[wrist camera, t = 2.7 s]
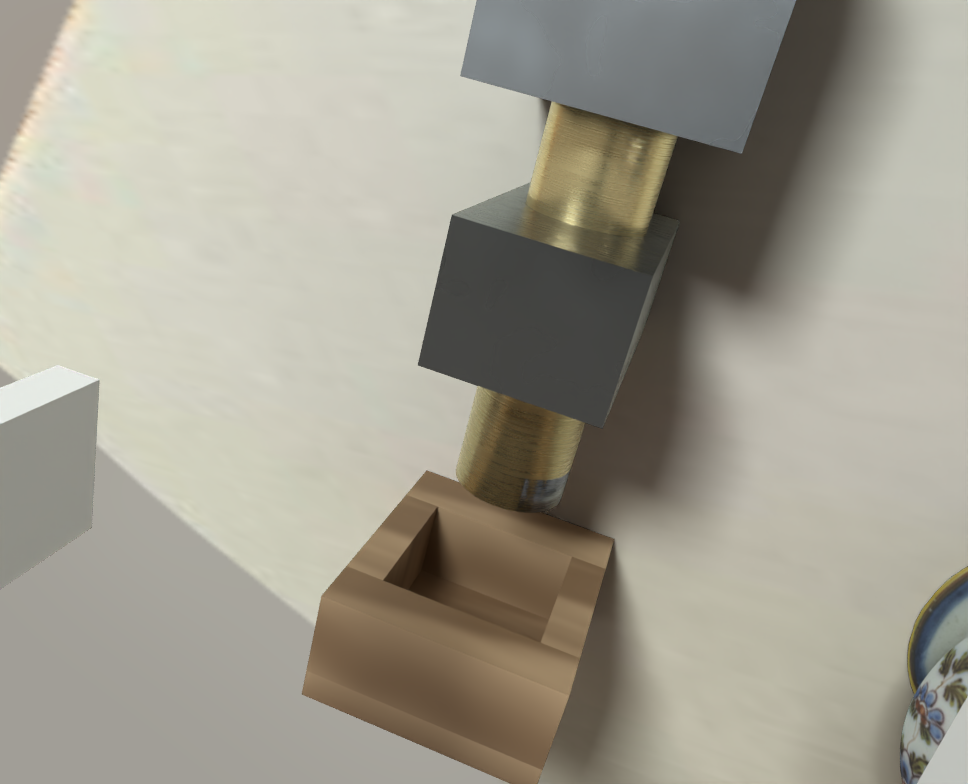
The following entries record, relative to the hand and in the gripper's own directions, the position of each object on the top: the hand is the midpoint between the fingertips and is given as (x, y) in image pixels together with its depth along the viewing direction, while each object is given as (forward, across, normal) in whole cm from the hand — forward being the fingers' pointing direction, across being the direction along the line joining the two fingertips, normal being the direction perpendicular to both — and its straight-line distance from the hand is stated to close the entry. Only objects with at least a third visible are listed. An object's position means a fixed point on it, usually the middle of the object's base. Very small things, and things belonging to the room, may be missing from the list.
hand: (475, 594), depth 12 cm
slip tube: (+19, -2, +4) cm, 19 cm away
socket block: (+19, -2, -11) cm, 22 cm away
